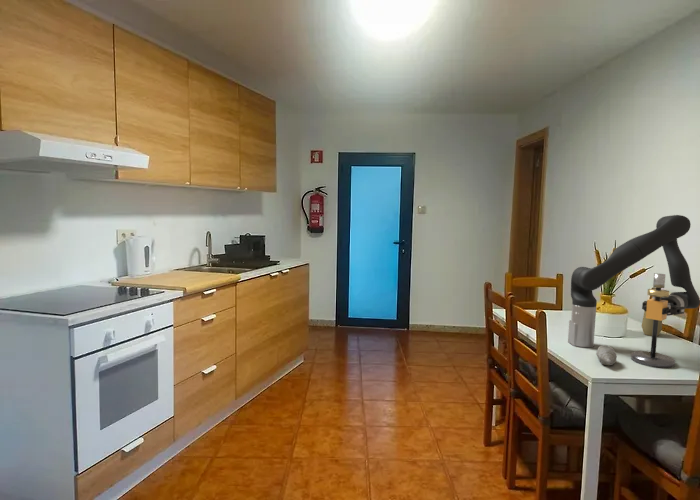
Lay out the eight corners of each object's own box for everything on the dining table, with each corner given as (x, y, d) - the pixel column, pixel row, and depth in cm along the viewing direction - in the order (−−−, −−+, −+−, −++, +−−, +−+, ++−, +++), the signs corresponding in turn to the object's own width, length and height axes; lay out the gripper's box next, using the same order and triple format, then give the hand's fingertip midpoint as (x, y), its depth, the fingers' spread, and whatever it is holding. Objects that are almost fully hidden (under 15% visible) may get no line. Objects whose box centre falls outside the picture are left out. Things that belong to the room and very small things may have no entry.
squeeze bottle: (655, 338, 210) (658, 299, 208) (637, 333, 217) (640, 295, 215) (665, 336, 213) (668, 297, 212) (647, 331, 221) (650, 294, 219)
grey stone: (598, 360, 168) (603, 339, 170) (592, 363, 180) (597, 344, 182) (617, 367, 166) (622, 345, 167) (610, 369, 178) (615, 349, 179)
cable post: (666, 370, 167) (675, 278, 164) (625, 360, 178) (631, 273, 175) (680, 363, 176) (688, 275, 172) (639, 353, 187) (646, 270, 183)
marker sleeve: (661, 320, 172) (662, 302, 171) (645, 318, 176) (647, 299, 175) (666, 318, 175) (667, 300, 174) (650, 316, 179) (652, 298, 178)
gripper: (650, 292, 189) (634, 297, 178) (692, 298, 178) (677, 303, 167) (649, 310, 190) (632, 316, 179) (690, 317, 178) (675, 324, 168)
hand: (654, 310), depth 173 cm, fingers closed on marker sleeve, 5 cm apart
